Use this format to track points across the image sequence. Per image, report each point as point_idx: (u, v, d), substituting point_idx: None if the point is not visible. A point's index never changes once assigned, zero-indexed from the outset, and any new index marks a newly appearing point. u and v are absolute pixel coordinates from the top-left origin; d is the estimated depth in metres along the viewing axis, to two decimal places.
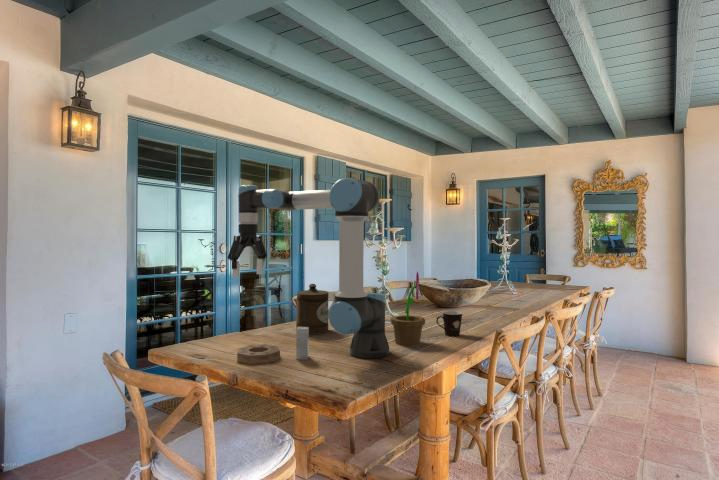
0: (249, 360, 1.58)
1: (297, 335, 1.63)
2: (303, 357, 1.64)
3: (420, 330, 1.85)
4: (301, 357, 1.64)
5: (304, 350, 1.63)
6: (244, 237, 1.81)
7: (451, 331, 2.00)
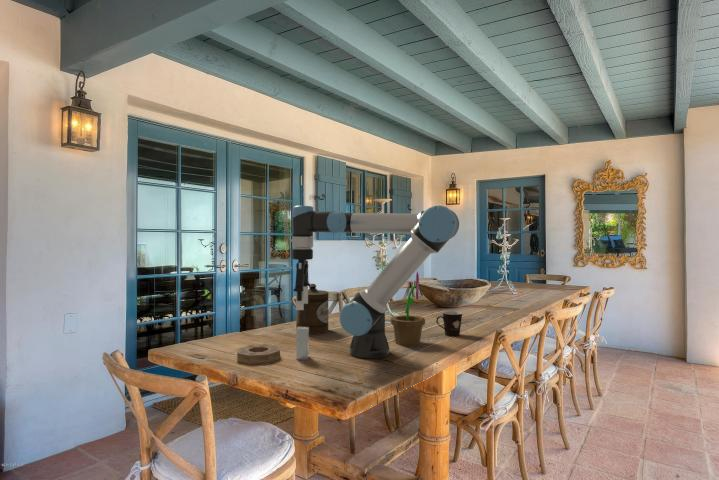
0: (249, 360, 1.58)
1: (297, 335, 1.63)
2: (303, 357, 1.64)
3: (420, 330, 1.85)
4: (301, 357, 1.64)
5: (304, 350, 1.63)
6: (304, 264, 1.62)
7: (451, 331, 2.00)
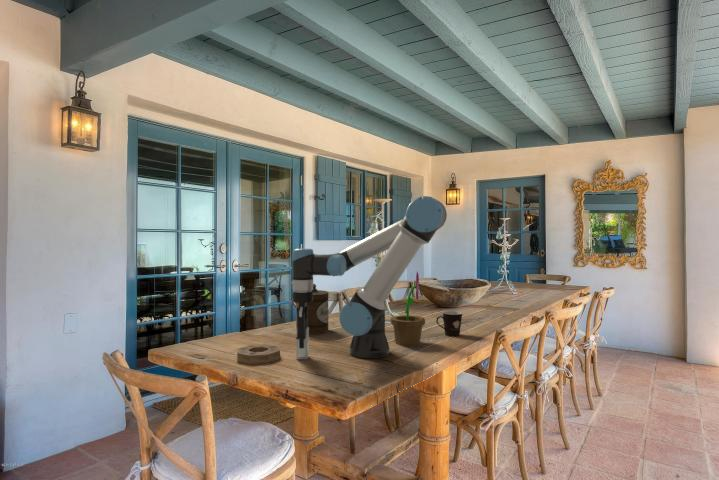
0: (249, 360, 1.58)
1: None
2: (303, 357, 1.64)
3: (420, 330, 1.85)
4: (301, 357, 1.64)
5: None
6: (304, 307, 1.62)
7: (451, 331, 2.00)
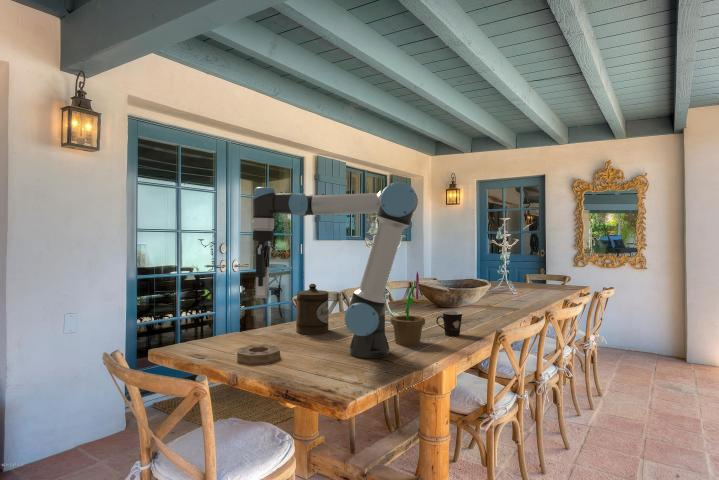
0: (249, 360, 1.58)
1: None
2: (262, 296, 1.63)
3: (420, 330, 1.85)
4: (260, 296, 1.63)
5: None
6: (264, 245, 1.62)
7: (451, 331, 2.00)
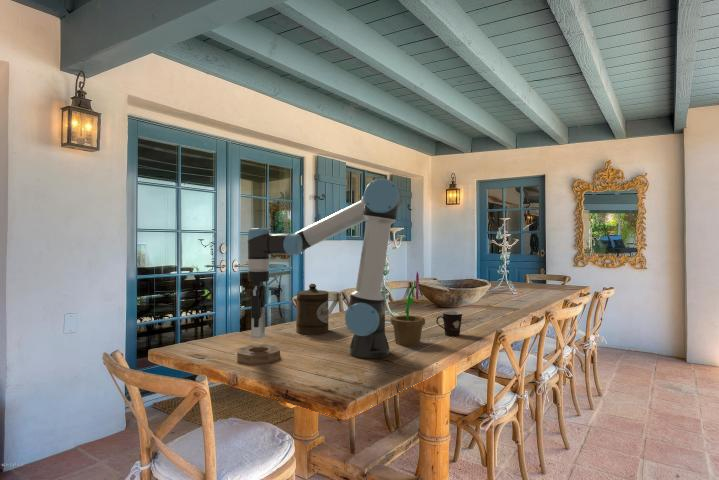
0: (249, 360, 1.58)
1: None
2: (258, 336, 1.63)
3: (420, 330, 1.85)
4: (256, 336, 1.63)
5: None
6: (259, 286, 1.62)
7: (451, 331, 2.00)
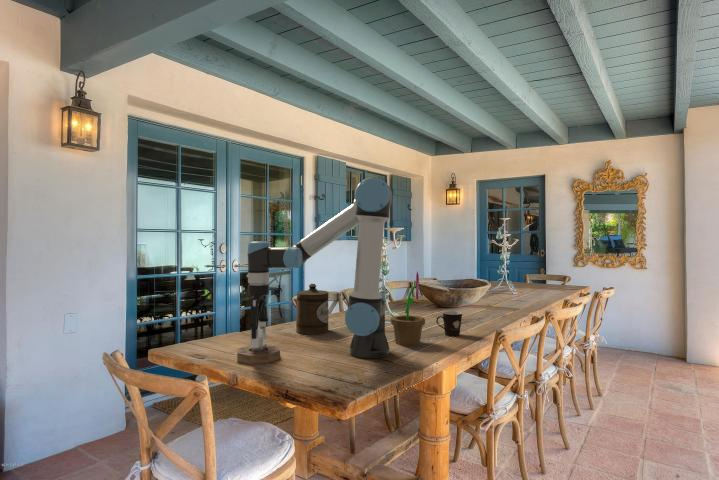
0: (249, 360, 1.58)
1: None
2: None
3: (420, 330, 1.85)
4: None
5: (260, 349, 1.63)
6: (259, 300, 1.62)
7: (451, 331, 2.00)
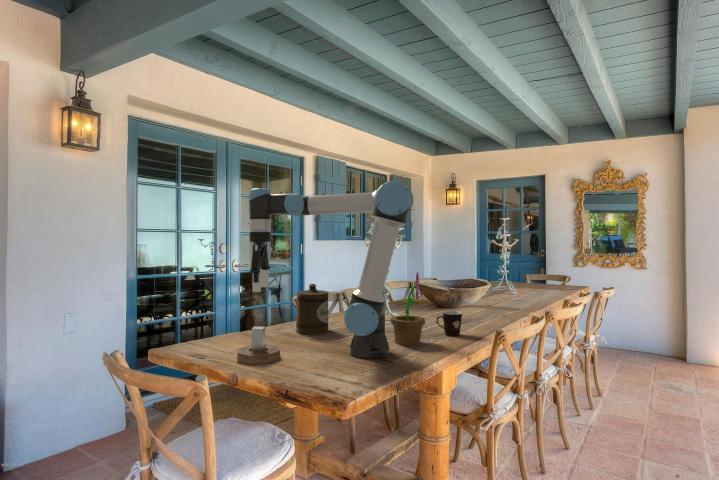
0: (249, 360, 1.58)
1: (253, 335, 1.63)
2: None
3: (420, 330, 1.85)
4: None
5: (260, 349, 1.63)
6: (261, 246, 1.62)
7: (451, 331, 2.00)
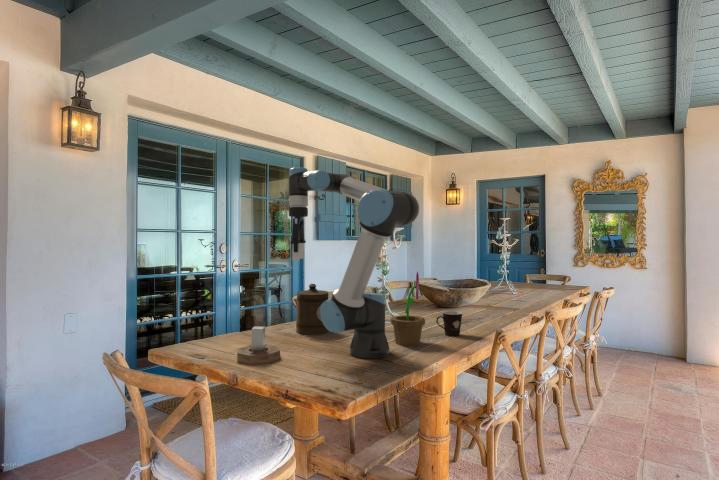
0: (249, 360, 1.58)
1: (253, 335, 1.63)
2: None
3: (420, 330, 1.85)
4: None
5: (260, 349, 1.63)
6: (300, 220, 1.78)
7: (451, 331, 2.00)
